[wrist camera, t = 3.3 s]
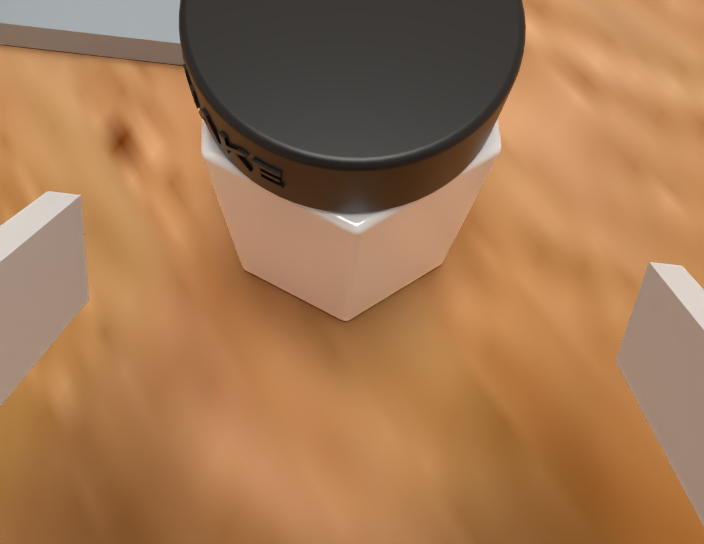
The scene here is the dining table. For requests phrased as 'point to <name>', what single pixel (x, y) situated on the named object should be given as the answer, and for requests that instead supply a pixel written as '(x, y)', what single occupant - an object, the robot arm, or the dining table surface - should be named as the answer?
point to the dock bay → (95, 27)
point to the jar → (348, 132)
